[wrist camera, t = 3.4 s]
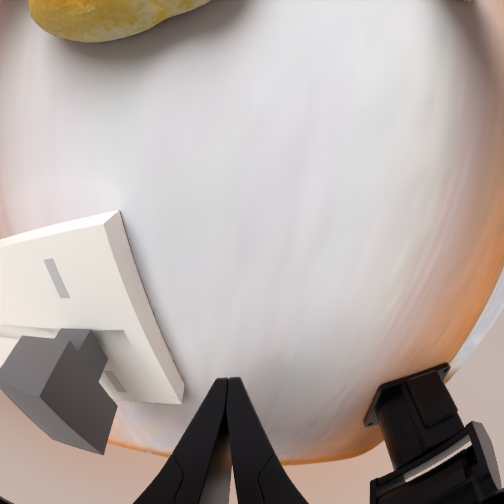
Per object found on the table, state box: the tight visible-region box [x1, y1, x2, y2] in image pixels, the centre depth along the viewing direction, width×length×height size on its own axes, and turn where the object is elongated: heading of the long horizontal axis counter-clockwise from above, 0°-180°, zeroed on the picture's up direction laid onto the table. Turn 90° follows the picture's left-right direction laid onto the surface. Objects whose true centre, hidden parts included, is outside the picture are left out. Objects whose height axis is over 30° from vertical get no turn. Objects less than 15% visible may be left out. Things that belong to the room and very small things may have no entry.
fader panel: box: [0, 210, 185, 404], centre depth 12 cm, size 11×17×2 cm, turn 96°
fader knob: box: [0, 328, 117, 455], centre depth 9 cm, size 4×3×5 cm
